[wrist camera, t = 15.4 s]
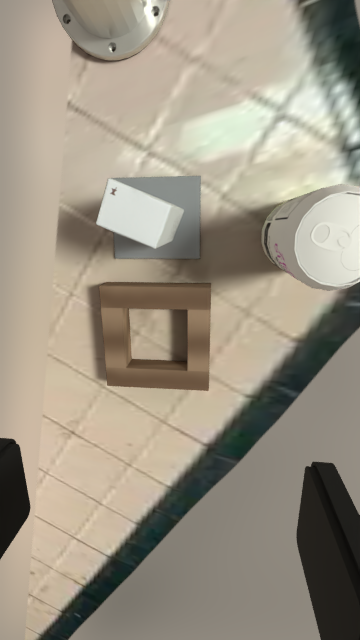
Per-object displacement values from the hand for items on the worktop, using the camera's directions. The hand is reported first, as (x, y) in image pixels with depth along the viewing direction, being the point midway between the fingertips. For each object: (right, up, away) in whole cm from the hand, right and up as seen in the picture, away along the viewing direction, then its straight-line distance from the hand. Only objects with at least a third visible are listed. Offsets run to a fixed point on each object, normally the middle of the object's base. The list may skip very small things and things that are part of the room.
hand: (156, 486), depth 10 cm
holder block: (-2, +4, +33) cm, 34 cm away
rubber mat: (-2, +18, +29) cm, 34 cm away
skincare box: (-2, +18, +29) cm, 34 cm away
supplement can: (+15, +16, +28) cm, 35 cm away
